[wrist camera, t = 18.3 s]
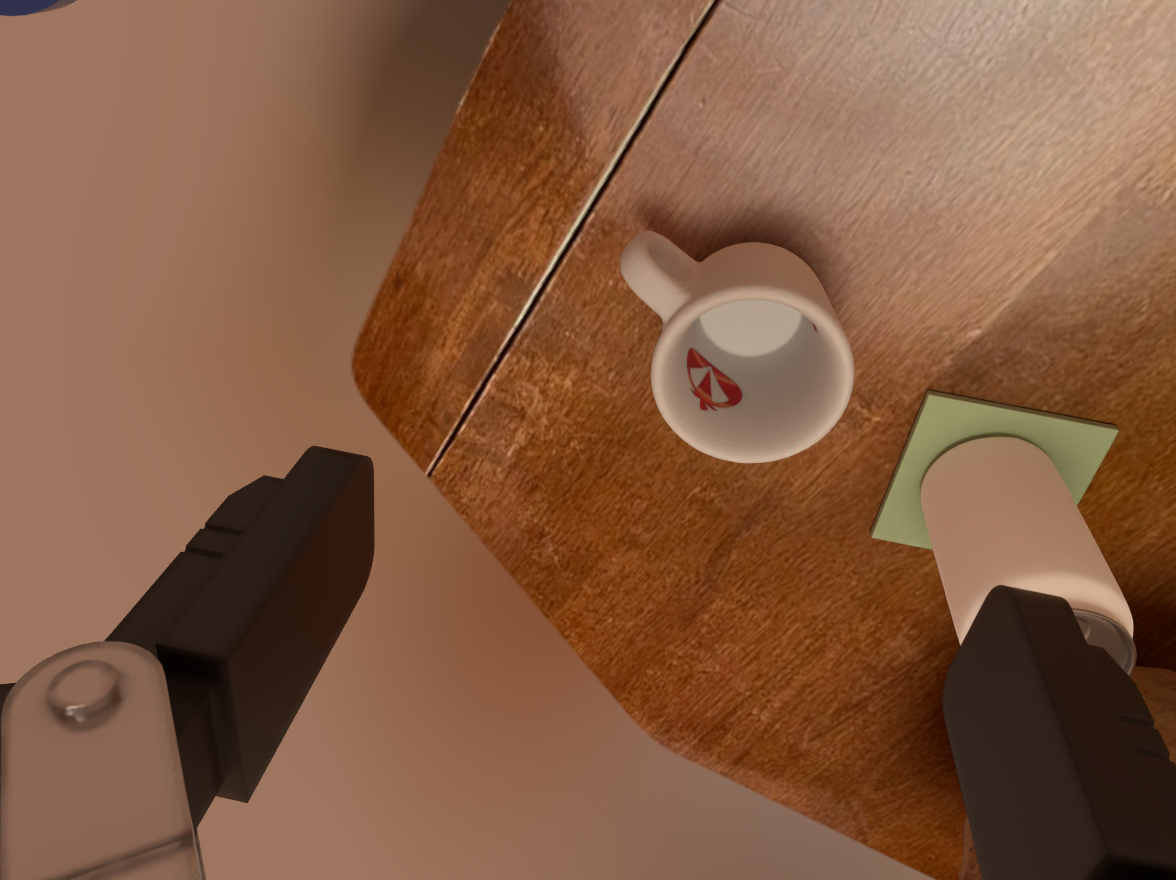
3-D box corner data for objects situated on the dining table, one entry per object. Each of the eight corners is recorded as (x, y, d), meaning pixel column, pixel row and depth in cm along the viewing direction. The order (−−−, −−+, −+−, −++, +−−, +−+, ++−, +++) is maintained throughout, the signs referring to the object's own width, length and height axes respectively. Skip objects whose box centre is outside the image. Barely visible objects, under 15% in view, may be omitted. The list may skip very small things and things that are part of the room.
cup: (586, 273, 41) (555, 347, 35) (696, 140, 37) (685, 195, 31) (754, 405, 44) (755, 498, 37) (875, 294, 40) (900, 376, 33)
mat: (870, 532, 47) (871, 537, 46) (927, 389, 42) (928, 394, 42) (1038, 565, 46) (1040, 571, 46) (1116, 424, 41) (1119, 430, 41)
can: (1069, 433, 41) (1171, 606, 31) (1041, 539, 45) (1125, 726, 35) (927, 429, 43) (981, 596, 33) (910, 533, 46) (955, 713, 36)
